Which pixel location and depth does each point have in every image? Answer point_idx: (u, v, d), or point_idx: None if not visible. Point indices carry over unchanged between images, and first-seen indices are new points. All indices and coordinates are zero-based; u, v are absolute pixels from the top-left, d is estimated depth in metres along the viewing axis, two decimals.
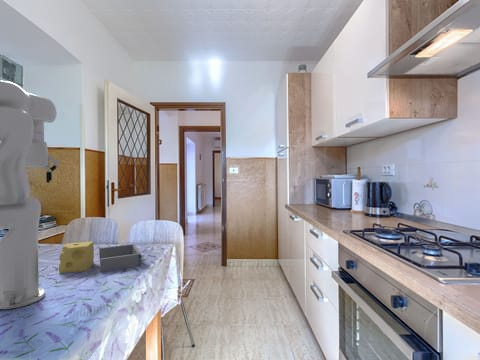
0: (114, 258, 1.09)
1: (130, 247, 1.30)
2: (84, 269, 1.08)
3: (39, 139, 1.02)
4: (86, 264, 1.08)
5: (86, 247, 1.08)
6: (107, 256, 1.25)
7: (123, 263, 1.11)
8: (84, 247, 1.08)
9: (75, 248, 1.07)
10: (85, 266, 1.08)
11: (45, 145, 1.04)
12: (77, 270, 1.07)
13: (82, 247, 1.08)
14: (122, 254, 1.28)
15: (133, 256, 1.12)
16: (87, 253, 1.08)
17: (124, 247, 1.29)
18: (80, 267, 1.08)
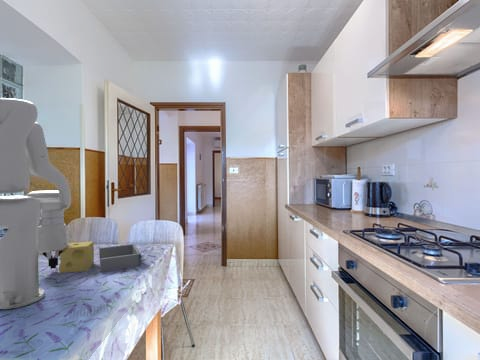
0: (114, 258, 1.09)
1: (130, 247, 1.30)
2: (84, 269, 1.08)
3: (60, 223, 1.07)
4: (86, 264, 1.08)
5: (86, 247, 1.08)
6: (107, 256, 1.25)
7: (123, 263, 1.11)
8: (84, 247, 1.08)
9: (75, 248, 1.07)
10: (85, 266, 1.08)
11: (65, 228, 1.08)
12: (77, 270, 1.07)
13: (82, 247, 1.08)
14: (122, 254, 1.28)
15: (133, 256, 1.12)
16: (87, 253, 1.08)
17: (124, 247, 1.29)
18: (80, 267, 1.08)
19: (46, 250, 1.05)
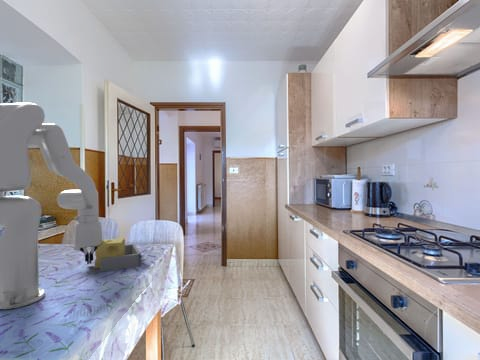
0: (114, 258, 1.09)
1: (130, 247, 1.30)
2: None
3: (95, 221, 1.13)
4: None
5: (120, 243, 1.13)
6: None
7: (123, 263, 1.11)
8: (118, 243, 1.13)
9: (109, 244, 1.12)
10: None
11: (100, 225, 1.14)
12: None
13: (116, 243, 1.13)
14: None
15: (133, 256, 1.12)
16: (121, 249, 1.13)
17: None
18: None
19: (83, 246, 1.11)
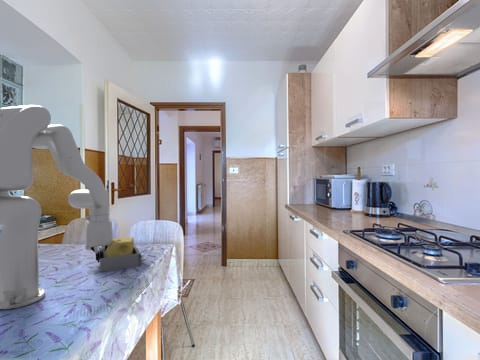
0: (114, 258, 1.09)
1: None
2: None
3: (106, 220, 1.15)
4: None
5: (130, 242, 1.15)
6: None
7: (123, 263, 1.11)
8: (128, 242, 1.15)
9: (120, 243, 1.14)
10: None
11: (111, 224, 1.16)
12: None
13: (126, 242, 1.15)
14: None
15: (133, 256, 1.12)
16: (131, 248, 1.15)
17: None
18: None
19: (94, 245, 1.12)
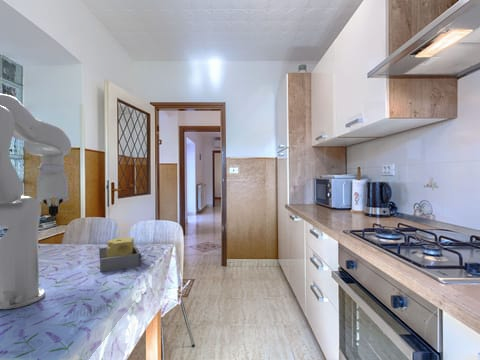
0: (114, 258, 1.09)
1: None
2: None
3: (60, 171, 1.07)
4: None
5: (130, 242, 1.15)
6: None
7: (123, 263, 1.11)
8: (128, 242, 1.15)
9: (120, 243, 1.14)
10: None
11: (65, 176, 1.08)
12: None
13: (126, 242, 1.15)
14: None
15: (133, 256, 1.12)
16: (131, 248, 1.15)
17: None
18: None
19: (46, 197, 1.05)
